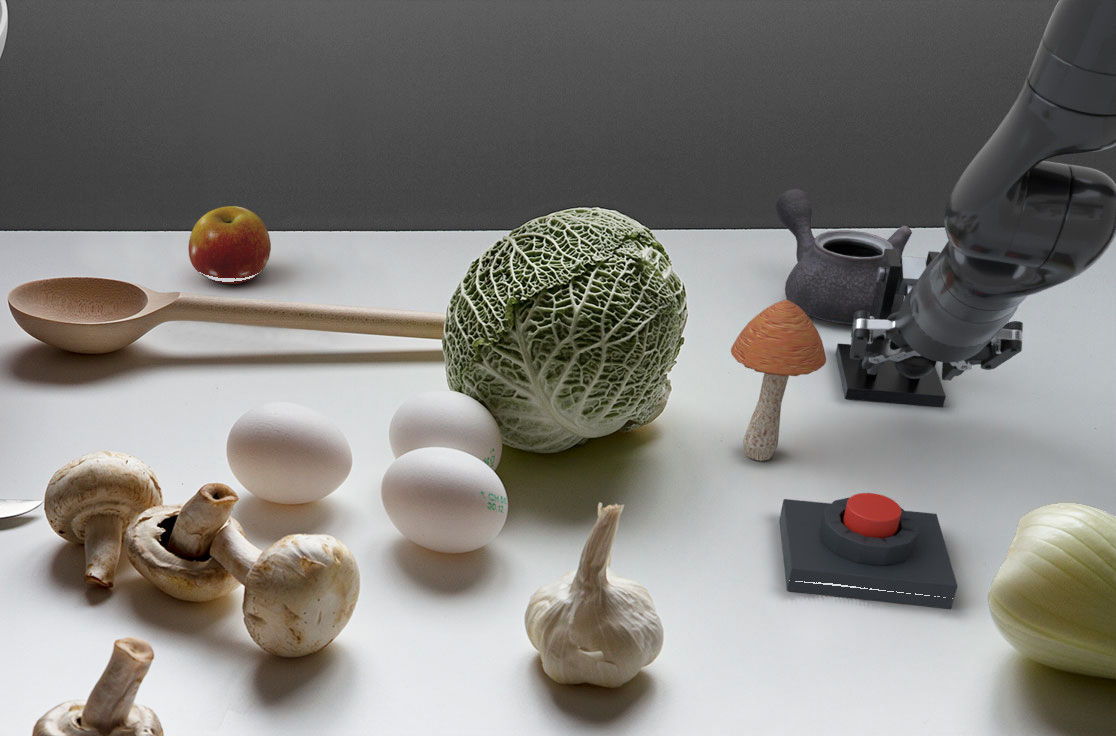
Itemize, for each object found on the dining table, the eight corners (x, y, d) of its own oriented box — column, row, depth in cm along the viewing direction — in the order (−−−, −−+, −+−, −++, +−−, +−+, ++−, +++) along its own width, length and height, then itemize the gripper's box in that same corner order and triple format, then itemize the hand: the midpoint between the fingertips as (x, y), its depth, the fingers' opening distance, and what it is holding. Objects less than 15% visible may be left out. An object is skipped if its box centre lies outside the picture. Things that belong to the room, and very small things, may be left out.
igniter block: (930, 535, 106) (942, 494, 104) (951, 609, 98) (963, 566, 96) (779, 520, 108) (787, 479, 106) (786, 591, 100) (795, 548, 98)
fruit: (203, 298, 147) (197, 231, 143) (181, 270, 154) (175, 205, 150) (283, 284, 150) (279, 218, 146) (257, 257, 157) (254, 193, 153)
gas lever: (931, 388, 118) (942, 363, 115) (890, 384, 119) (900, 360, 116) (925, 279, 125) (935, 253, 122) (886, 276, 125) (895, 251, 122)
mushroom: (782, 427, 121) (810, 278, 113) (822, 471, 114) (854, 316, 106) (701, 435, 120) (724, 285, 112) (737, 480, 113) (763, 324, 105)
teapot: (942, 309, 142) (964, 222, 137) (845, 342, 136) (864, 252, 130) (811, 254, 156) (826, 173, 151) (717, 282, 150) (729, 198, 144)
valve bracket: (943, 407, 124) (975, 283, 117) (845, 399, 126) (871, 276, 119) (927, 360, 132) (956, 242, 125) (835, 353, 134) (859, 236, 127)
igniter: (893, 513, 102) (898, 495, 101) (900, 542, 99) (905, 523, 98) (840, 508, 103) (844, 490, 102) (845, 536, 100) (850, 517, 99)
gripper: (1058, 264, 103) (992, 335, 120) (870, 252, 106) (830, 323, 122) (1055, 353, 102) (988, 412, 118) (864, 338, 104) (824, 399, 121)
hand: (908, 367), depth 120 cm, fingers open, 6 cm apart
